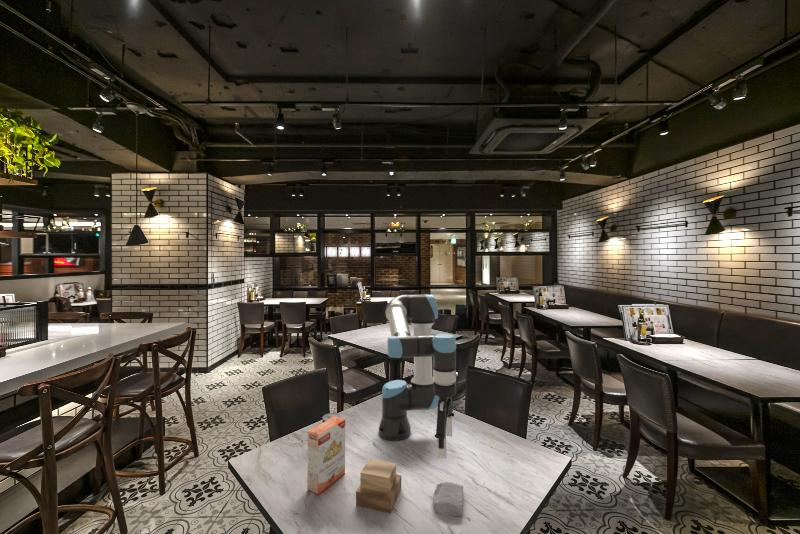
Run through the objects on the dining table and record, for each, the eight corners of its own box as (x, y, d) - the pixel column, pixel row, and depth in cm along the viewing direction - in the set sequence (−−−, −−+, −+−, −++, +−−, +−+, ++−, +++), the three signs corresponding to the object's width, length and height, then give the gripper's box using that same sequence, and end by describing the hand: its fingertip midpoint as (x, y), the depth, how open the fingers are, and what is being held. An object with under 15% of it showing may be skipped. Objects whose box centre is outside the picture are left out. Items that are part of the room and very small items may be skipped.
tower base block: (369, 483, 119) (369, 469, 118) (401, 489, 115) (401, 475, 115) (356, 506, 107) (355, 491, 107) (390, 514, 104) (390, 498, 104)
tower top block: (369, 472, 117) (369, 458, 117) (396, 477, 114) (396, 463, 114) (360, 487, 109) (360, 472, 109) (388, 493, 106) (388, 478, 106)
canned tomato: (343, 437, 150) (342, 413, 150) (336, 446, 142) (336, 421, 142) (326, 435, 151) (326, 412, 151) (319, 445, 143) (319, 420, 143)
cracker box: (319, 496, 112) (318, 435, 111) (306, 489, 115) (306, 430, 115) (346, 473, 123) (346, 418, 123) (334, 468, 127) (334, 414, 126)
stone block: (433, 520, 103) (465, 518, 101) (430, 504, 104) (461, 502, 102) (437, 495, 115) (465, 493, 113) (434, 481, 115) (462, 479, 113)
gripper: (450, 397, 95) (451, 470, 95) (460, 371, 119) (460, 429, 119) (425, 394, 97) (426, 465, 97) (440, 369, 121) (440, 426, 121)
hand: (445, 445), depth 108 cm, fingers open, 13 cm apart
